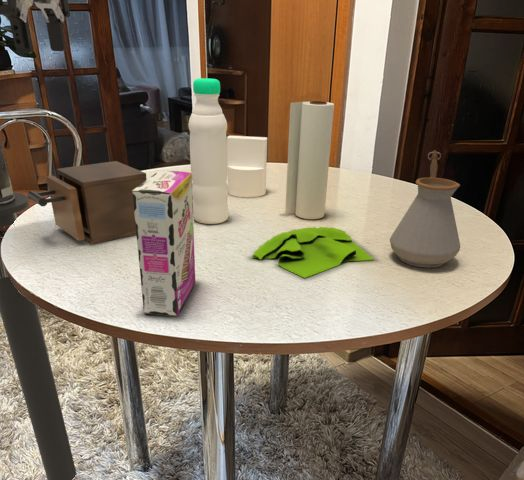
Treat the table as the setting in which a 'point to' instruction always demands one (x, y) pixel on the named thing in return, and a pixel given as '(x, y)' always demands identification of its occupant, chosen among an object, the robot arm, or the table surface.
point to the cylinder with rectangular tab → (246, 165)
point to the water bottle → (208, 154)
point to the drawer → (65, 205)
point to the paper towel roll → (308, 158)
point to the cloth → (311, 250)
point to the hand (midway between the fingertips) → (42, 52)
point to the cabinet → (107, 198)
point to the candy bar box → (165, 240)
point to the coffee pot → (428, 223)
